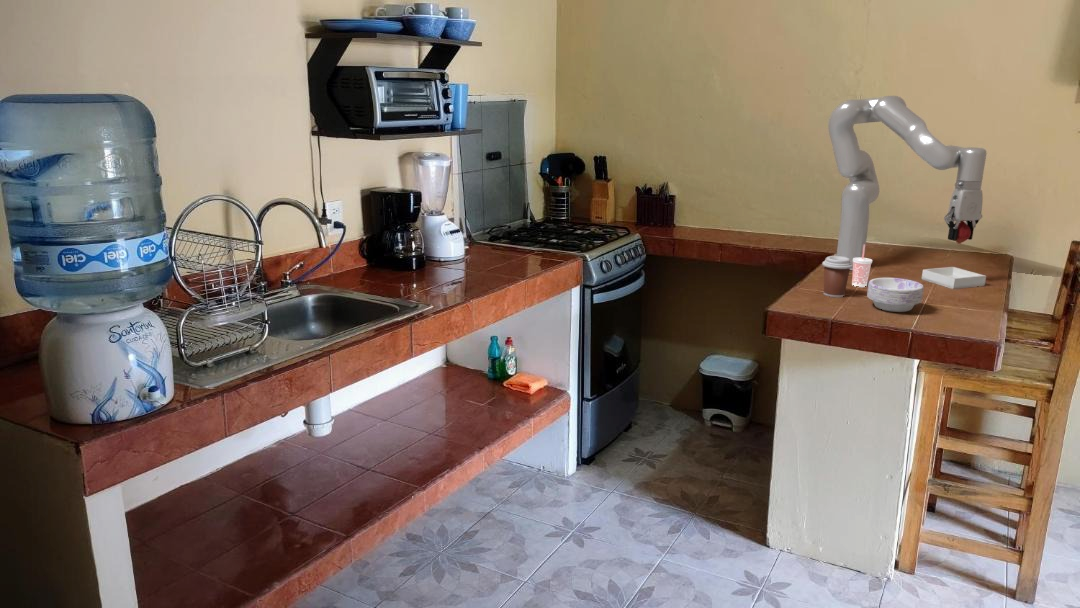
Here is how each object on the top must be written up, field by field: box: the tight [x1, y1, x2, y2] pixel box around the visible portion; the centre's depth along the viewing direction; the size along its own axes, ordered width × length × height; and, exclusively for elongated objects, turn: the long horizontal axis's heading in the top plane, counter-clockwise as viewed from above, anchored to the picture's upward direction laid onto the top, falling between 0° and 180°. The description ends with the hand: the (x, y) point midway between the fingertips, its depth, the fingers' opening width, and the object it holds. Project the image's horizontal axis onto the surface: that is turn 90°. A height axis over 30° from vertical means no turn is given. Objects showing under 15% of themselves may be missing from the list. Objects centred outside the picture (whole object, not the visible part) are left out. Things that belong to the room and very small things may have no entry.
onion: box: [955, 221, 971, 244], centre depth 259 cm, size 6×6×8 cm
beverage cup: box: [851, 245, 873, 288], centre depth 258 cm, size 6×6×14 cm
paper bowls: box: [866, 277, 925, 313], centre depth 233 cm, size 15×15×8 cm
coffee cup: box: [821, 255, 853, 298], centre depth 247 cm, size 9×9×12 cm
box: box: [921, 266, 987, 290], centre depth 264 cm, size 14×14×4 cm
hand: (959, 239), depth 260 cm, fingers closed on onion, 5 cm apart
